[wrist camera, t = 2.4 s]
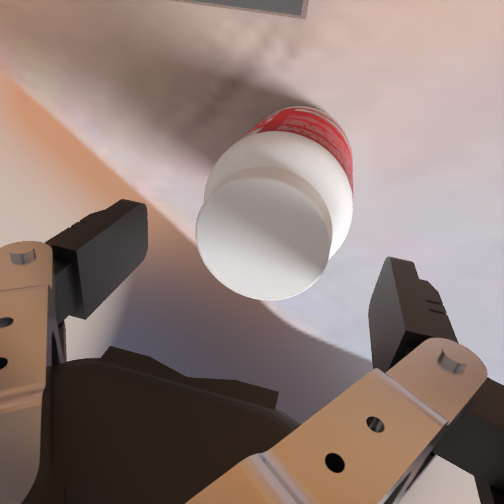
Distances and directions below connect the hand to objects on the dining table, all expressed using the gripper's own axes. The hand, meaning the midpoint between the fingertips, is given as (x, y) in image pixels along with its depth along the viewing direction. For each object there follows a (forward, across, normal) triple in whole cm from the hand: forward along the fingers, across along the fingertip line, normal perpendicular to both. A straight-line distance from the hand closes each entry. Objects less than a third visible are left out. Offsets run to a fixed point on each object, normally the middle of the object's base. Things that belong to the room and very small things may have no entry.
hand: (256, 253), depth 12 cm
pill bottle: (+12, 0, 0) cm, 12 cm away
